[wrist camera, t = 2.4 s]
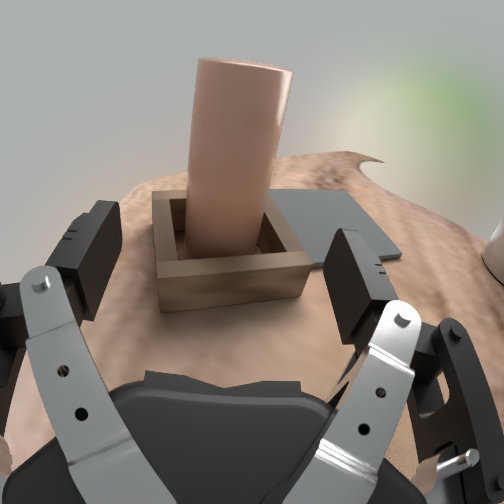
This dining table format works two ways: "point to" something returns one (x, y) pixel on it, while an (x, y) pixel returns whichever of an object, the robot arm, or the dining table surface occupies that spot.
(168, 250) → the walnut collar
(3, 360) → the robot arm
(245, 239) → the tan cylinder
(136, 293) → the dining table surface
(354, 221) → the charcoal mat
